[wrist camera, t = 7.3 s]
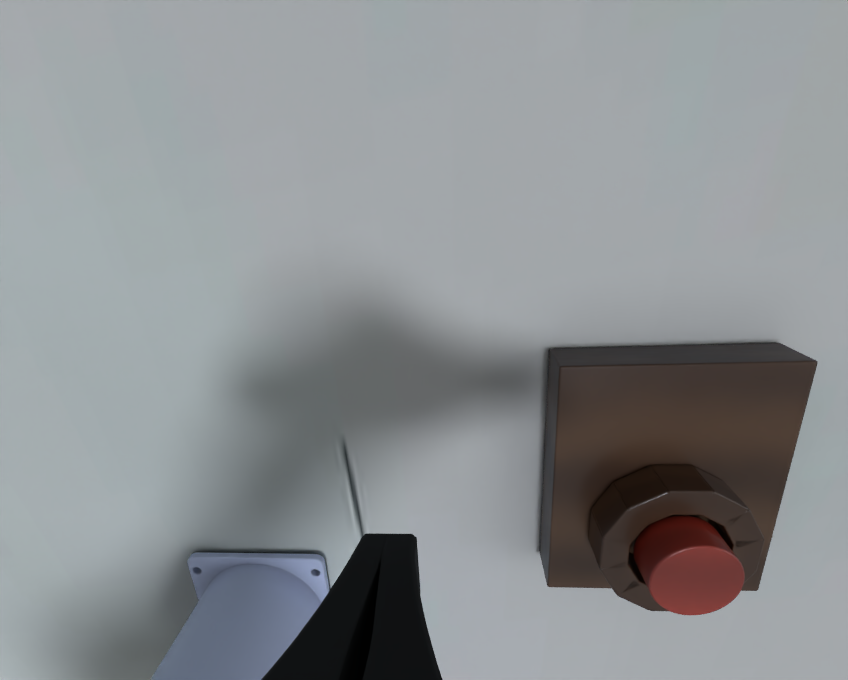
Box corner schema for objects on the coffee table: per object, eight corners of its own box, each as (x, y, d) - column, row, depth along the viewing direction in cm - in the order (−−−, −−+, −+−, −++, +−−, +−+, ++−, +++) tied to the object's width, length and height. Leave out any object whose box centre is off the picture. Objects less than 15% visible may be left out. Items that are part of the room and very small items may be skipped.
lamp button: (712, 580, 19) (736, 617, 18) (628, 579, 20) (644, 615, 18) (727, 514, 18) (754, 547, 17) (637, 514, 19) (655, 545, 17)
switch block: (731, 555, 23) (784, 627, 20) (539, 553, 24) (555, 621, 20) (780, 342, 19) (858, 380, 16) (548, 347, 20) (570, 385, 16)
